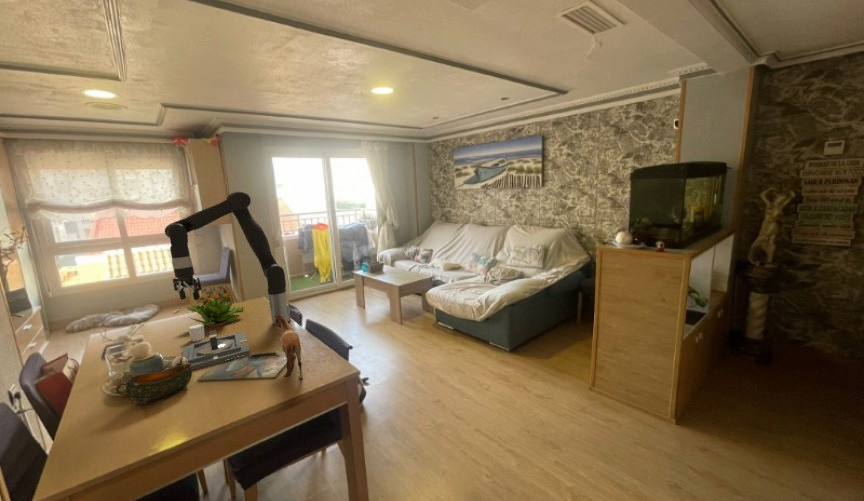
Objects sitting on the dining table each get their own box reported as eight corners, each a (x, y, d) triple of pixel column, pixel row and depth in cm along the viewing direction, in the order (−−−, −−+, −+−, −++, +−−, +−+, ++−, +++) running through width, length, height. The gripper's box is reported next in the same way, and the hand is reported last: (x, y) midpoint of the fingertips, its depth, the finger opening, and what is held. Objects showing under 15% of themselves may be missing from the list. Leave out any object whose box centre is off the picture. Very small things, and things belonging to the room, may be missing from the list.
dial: (231, 338, 172) (229, 324, 171) (233, 349, 160) (230, 334, 159) (198, 347, 165) (195, 332, 164) (197, 358, 153) (193, 342, 152)
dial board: (245, 335, 181) (244, 329, 180) (249, 354, 159) (248, 347, 158) (184, 350, 167) (183, 343, 167) (180, 373, 145) (178, 365, 145)
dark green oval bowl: (136, 392, 132) (130, 368, 131) (196, 381, 139) (192, 357, 137) (118, 413, 120) (112, 386, 119) (185, 399, 127) (180, 374, 125)
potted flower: (223, 332, 187) (217, 301, 184) (179, 334, 188) (173, 303, 185) (247, 315, 212) (243, 287, 209) (209, 317, 213) (204, 290, 209)
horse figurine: (280, 357, 154) (274, 313, 151) (299, 352, 158) (293, 309, 154) (285, 392, 127) (276, 339, 123) (307, 385, 130) (300, 334, 126)
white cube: (209, 335, 184) (206, 323, 183) (199, 341, 177) (196, 328, 176) (197, 336, 185) (194, 323, 183) (186, 341, 178) (184, 329, 177)
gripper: (201, 264, 163) (208, 297, 166) (179, 264, 168) (186, 296, 171) (186, 268, 156) (193, 302, 159) (163, 268, 161) (171, 301, 164)
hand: (190, 299), depth 165 cm, fingers open, 8 cm apart
